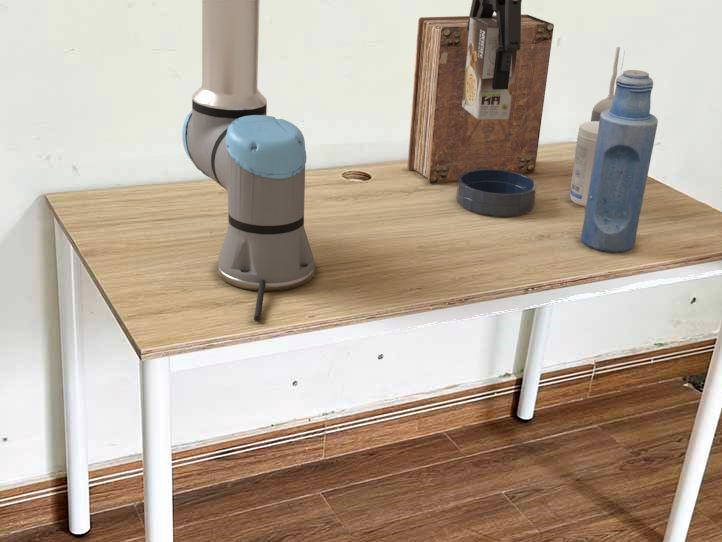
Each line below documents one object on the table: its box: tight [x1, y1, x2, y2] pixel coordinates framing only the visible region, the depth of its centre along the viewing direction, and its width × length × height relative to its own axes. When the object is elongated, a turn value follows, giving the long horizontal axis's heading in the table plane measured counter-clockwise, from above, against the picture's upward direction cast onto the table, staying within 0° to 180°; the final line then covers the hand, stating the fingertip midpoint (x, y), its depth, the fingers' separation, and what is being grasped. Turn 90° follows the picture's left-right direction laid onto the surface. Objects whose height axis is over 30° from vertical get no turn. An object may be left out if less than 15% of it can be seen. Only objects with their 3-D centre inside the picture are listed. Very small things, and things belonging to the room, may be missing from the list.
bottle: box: [580, 69, 659, 254], centre depth 181 cm, size 10×10×30 cm
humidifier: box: [590, 46, 626, 122], centre depth 221 cm, size 8×8×25 cm
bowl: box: [455, 169, 538, 218], centre depth 202 cm, size 15×15×4 cm
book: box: [407, 14, 555, 185], centre depth 212 cm, size 25×9×30 cm, turn 116°
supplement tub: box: [569, 120, 599, 208], centre depth 204 cm, size 10×10×15 cm
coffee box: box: [462, 17, 517, 120], centre depth 189 cm, size 9×6×16 cm
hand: (487, 81), depth 190 cm, fingers closed on coffee box, 9 cm apart
